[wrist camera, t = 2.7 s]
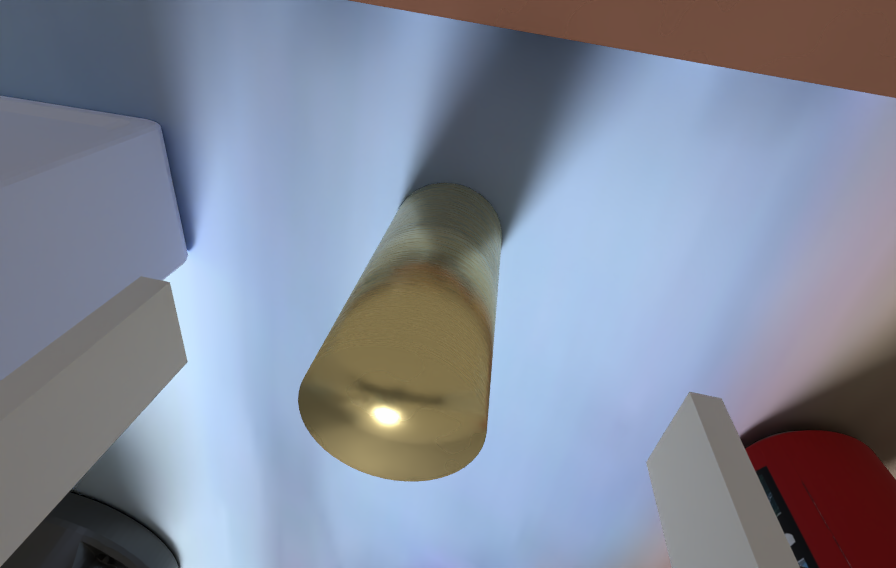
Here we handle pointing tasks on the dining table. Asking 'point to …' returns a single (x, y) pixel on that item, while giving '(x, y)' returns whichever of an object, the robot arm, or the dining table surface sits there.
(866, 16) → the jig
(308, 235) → the dining table surface
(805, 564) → the beverage can
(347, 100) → the dining table surface
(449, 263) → the brass cylinder
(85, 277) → the soap bottle
